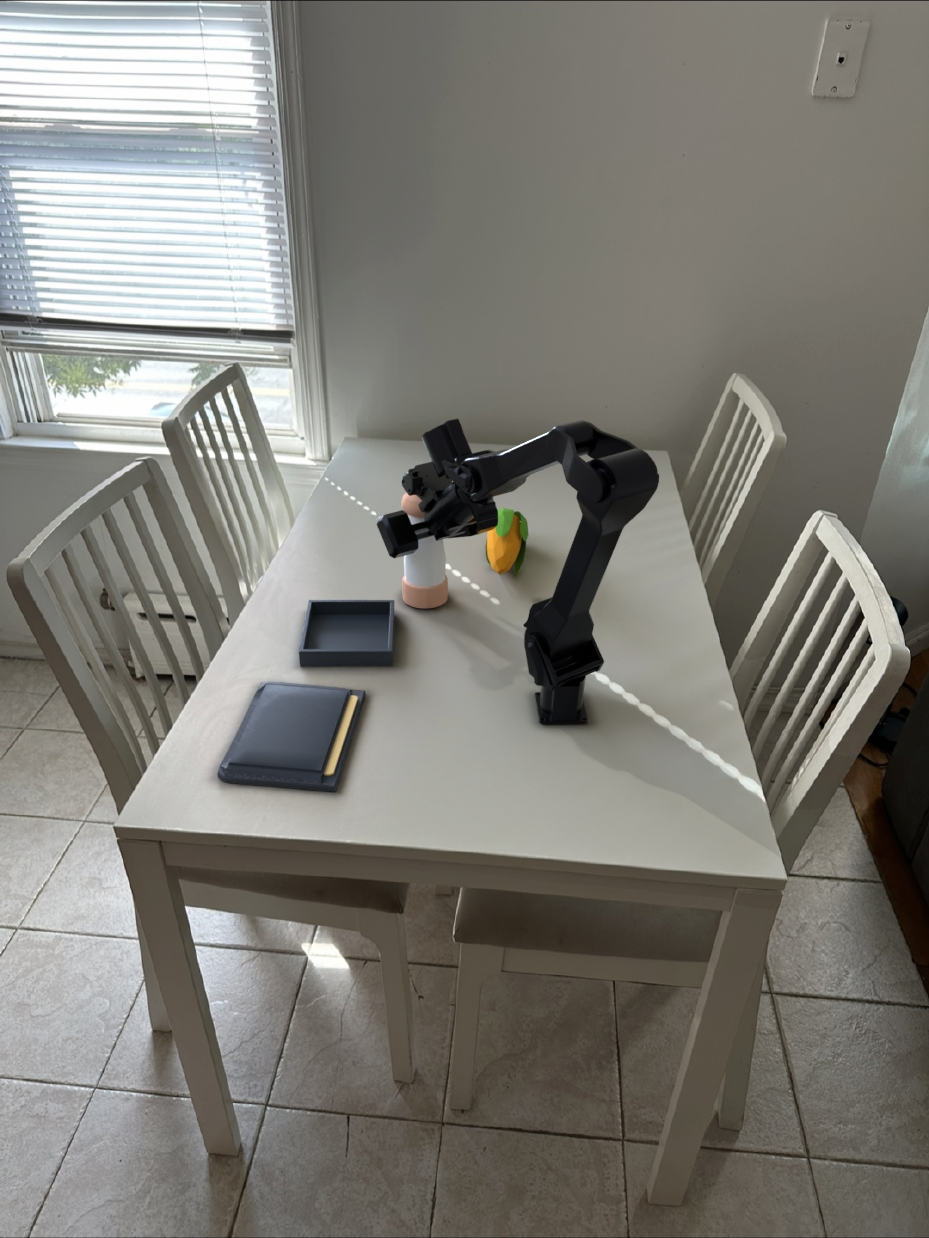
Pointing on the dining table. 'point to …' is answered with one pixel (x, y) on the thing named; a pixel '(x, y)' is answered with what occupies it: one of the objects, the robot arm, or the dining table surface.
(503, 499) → the dining table surface
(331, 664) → the tray
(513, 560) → the corn
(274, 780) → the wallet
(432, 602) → the pepper shaker
